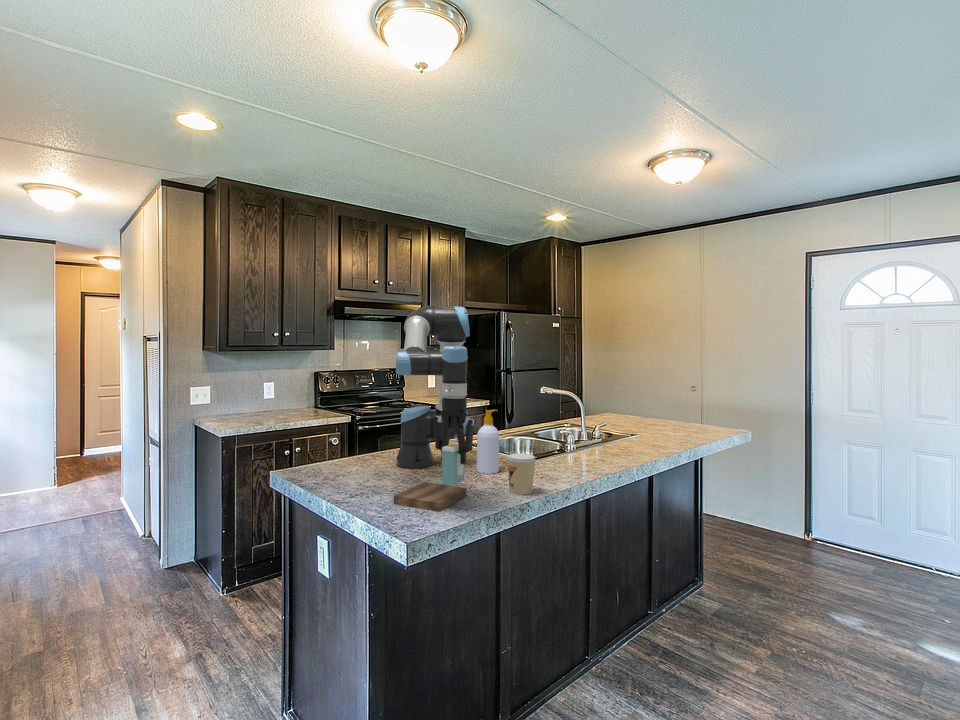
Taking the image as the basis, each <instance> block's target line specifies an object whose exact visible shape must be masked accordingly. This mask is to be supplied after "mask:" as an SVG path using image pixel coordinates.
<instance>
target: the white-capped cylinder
mask: <svg viewBox="0 0 960 720" xmlns="http://www.w3.org/2000/svg"><path fill="white" fill-rule="evenodd" d="M535 461H536V457H535V456H534V454H531V453H530V454H529V453H523V452H522V453H518V452H517V453H510V454H509V455H508V456H507V468H508V469H507V470H508V488H509V492H510V493H511V494H514V495H517V496H518V495H519V496H523V495H530V494H532V493H533V487H534V477H535V475H534V474H535V466H536V465H535Z"/></svg>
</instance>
